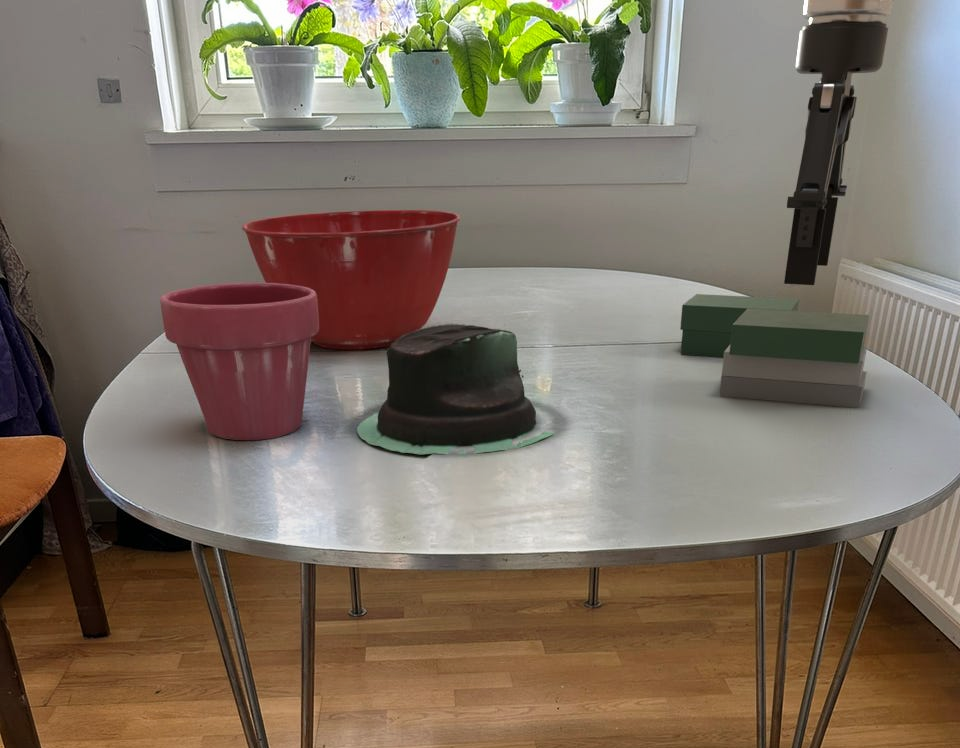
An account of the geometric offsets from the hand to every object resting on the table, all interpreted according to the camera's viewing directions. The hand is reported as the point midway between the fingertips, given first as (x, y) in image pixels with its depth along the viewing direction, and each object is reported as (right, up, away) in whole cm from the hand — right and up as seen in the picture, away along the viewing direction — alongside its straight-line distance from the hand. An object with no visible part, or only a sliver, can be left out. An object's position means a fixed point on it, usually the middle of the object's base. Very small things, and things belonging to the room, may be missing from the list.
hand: (806, 274), depth 95 cm
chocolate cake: (-35, -16, -2) cm, 38 cm away
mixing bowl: (-49, +5, +36) cm, 61 cm away
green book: (0, -6, +4) cm, 7 cm away
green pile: (0, 0, +26) cm, 26 cm away
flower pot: (-55, -16, -1) cm, 57 cm away
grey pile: (0, -11, +6) cm, 12 cm away
